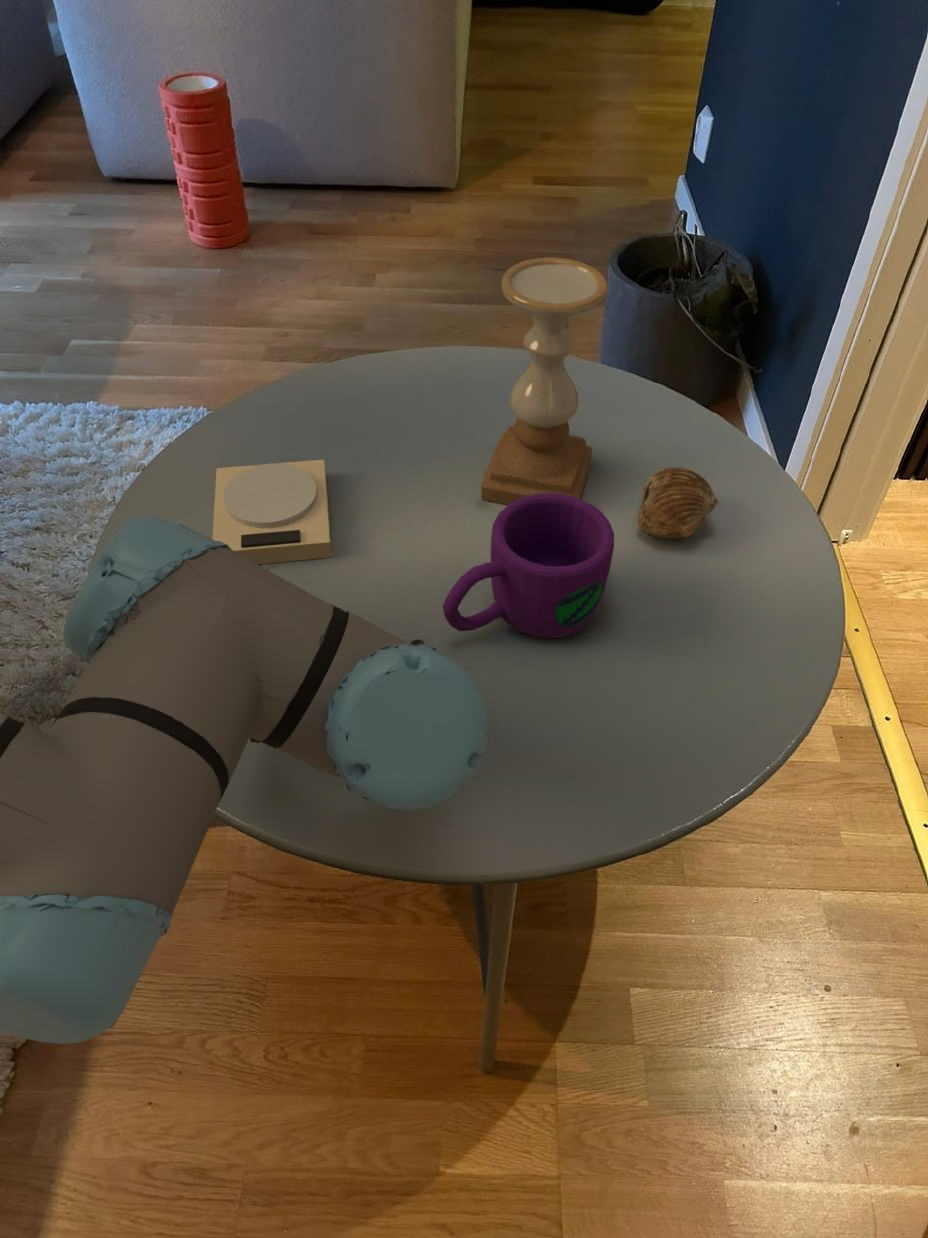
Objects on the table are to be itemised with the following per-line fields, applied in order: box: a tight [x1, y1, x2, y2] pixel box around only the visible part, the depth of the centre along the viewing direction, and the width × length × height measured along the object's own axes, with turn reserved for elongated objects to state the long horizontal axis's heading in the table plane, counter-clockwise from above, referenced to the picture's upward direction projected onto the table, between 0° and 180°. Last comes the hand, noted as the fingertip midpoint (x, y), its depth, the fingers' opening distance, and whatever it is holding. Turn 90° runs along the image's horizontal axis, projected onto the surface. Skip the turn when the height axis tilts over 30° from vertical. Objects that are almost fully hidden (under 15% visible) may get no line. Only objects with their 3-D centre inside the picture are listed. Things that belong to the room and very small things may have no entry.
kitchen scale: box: [212, 459, 333, 565], centre depth 98 cm, size 12×14×3 cm
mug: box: [442, 493, 615, 639], centre depth 86 cm, size 17×11×10 cm, turn 121°
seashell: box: [637, 466, 719, 540], centre depth 96 cm, size 9×7×8 cm
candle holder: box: [480, 257, 608, 506], centre depth 96 cm, size 11×11×24 cm
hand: (316, 678), depth 77 cm, fingers open, 9 cm apart
